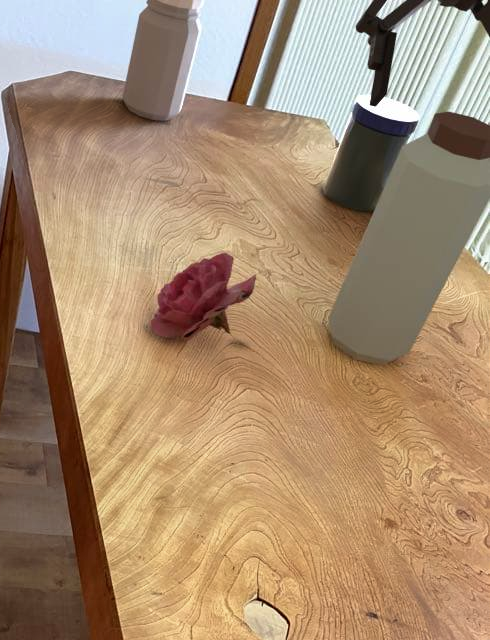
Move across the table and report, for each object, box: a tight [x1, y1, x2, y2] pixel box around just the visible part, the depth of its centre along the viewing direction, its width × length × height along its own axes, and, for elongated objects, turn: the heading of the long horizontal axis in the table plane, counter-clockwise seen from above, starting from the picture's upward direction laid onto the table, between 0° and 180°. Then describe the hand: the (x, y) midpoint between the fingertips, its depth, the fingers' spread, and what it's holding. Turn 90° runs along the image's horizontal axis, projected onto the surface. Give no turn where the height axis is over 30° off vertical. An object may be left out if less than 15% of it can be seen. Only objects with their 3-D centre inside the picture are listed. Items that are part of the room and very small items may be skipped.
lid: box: [350, 94, 420, 135], centre depth 126 cm, size 9×9×2 cm
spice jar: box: [322, 112, 413, 212], centre depth 131 cm, size 9×9×13 cm
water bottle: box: [327, 111, 490, 366], centre depth 95 cm, size 10×10×25 cm
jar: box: [122, 0, 205, 122], centre depth 139 cm, size 10×10×18 cm
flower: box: [150, 252, 257, 346], centre depth 96 cm, size 11×10×10 cm
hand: (439, 114), depth 94 cm, fingers open, 13 cm apart
